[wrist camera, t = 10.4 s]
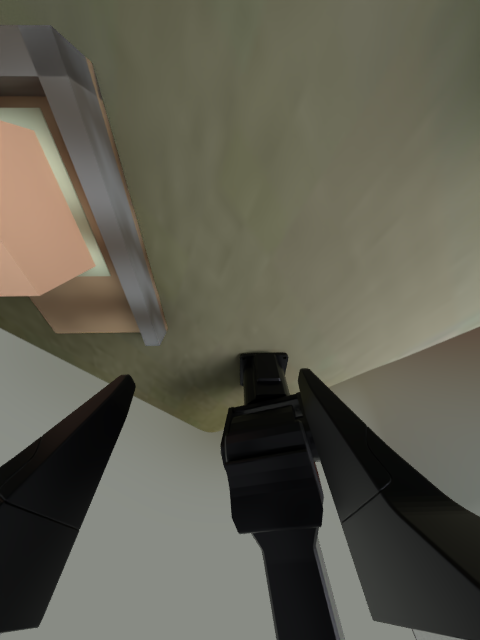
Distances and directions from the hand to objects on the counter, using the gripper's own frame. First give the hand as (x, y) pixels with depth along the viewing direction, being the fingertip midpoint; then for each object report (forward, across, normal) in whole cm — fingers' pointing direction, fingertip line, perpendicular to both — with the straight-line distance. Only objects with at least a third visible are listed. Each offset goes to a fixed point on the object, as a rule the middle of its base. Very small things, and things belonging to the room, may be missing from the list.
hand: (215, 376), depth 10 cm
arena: (+11, +14, -5) cm, 19 cm away
